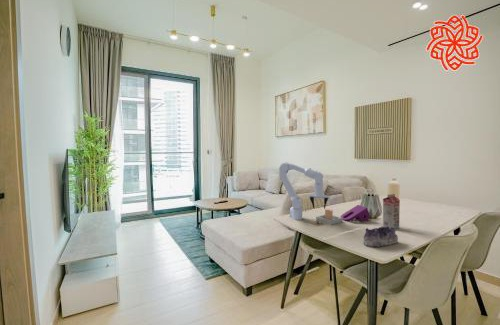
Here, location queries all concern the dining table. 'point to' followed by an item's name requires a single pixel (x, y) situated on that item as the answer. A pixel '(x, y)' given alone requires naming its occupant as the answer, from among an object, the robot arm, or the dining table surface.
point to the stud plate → (317, 223)
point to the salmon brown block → (329, 214)
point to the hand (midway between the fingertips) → (319, 207)
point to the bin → (335, 220)
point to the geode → (380, 237)
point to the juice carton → (391, 211)
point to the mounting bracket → (356, 214)
